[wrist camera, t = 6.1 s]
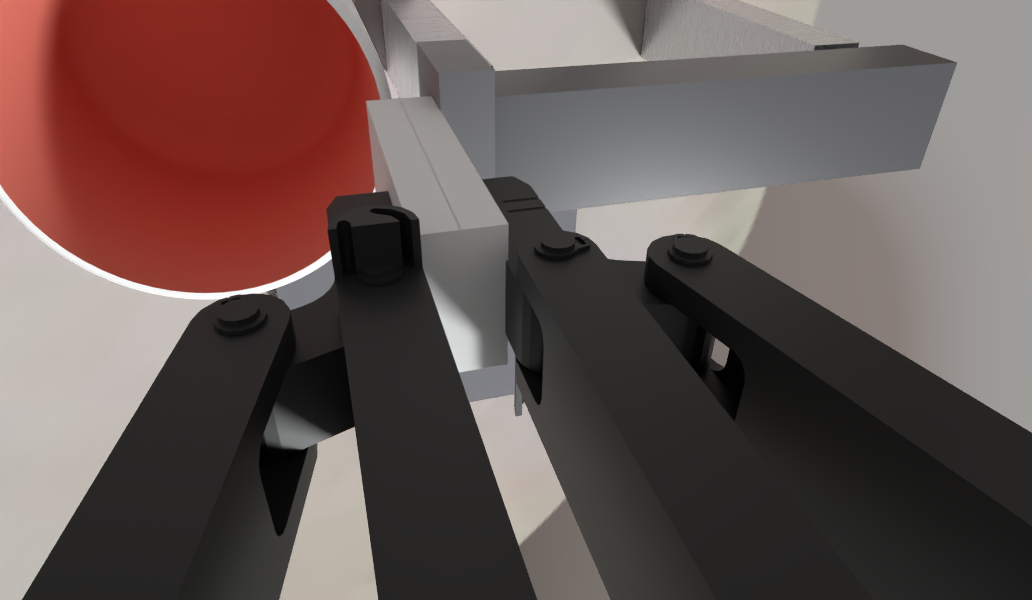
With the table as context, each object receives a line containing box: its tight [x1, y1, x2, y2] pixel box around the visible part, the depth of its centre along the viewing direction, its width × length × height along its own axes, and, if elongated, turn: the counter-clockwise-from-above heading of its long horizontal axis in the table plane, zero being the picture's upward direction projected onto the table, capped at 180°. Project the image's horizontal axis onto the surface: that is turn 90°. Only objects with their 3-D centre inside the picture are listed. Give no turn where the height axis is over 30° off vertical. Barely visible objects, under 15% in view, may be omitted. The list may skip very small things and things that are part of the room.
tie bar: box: [417, 39, 957, 212], centre depth 18 cm, size 14×4×3 cm, turn 88°
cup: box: [0, 0, 391, 299], centre depth 21 cm, size 10×10×10 cm
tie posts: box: [381, 0, 859, 98], centre depth 22 cm, size 26×3×11 cm, turn 88°
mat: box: [276, 209, 577, 402], centre depth 34 cm, size 14×14×1 cm
